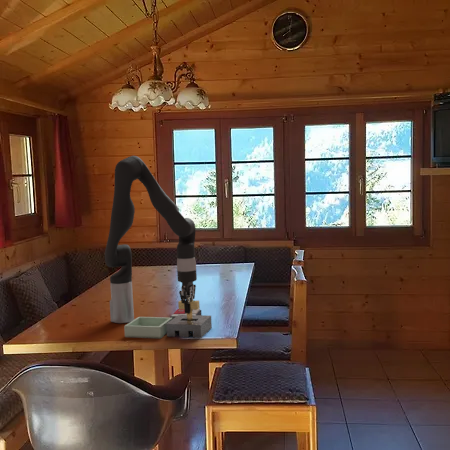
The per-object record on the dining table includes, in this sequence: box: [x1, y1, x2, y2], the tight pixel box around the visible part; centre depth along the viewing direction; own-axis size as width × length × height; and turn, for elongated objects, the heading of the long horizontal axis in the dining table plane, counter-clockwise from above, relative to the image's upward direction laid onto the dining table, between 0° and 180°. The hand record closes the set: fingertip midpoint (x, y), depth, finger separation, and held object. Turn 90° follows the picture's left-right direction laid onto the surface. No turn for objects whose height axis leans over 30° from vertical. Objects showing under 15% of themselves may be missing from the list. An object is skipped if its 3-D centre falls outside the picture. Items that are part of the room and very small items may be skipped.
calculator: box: [169, 308, 202, 319], centre depth 249 cm, size 11×4×15 cm
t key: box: [177, 299, 201, 321], centre depth 229 cm, size 8×2×12 cm, turn 74°
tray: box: [123, 316, 173, 339], centre depth 231 cm, size 15×14×4 cm
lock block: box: [166, 314, 213, 339], centre depth 230 cm, size 14×14×5 cm
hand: (188, 311), depth 229 cm, fingers closed on t key, 2 cm apart
